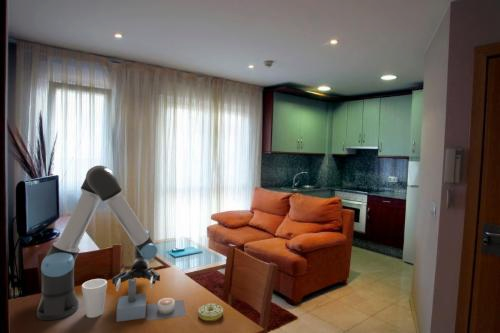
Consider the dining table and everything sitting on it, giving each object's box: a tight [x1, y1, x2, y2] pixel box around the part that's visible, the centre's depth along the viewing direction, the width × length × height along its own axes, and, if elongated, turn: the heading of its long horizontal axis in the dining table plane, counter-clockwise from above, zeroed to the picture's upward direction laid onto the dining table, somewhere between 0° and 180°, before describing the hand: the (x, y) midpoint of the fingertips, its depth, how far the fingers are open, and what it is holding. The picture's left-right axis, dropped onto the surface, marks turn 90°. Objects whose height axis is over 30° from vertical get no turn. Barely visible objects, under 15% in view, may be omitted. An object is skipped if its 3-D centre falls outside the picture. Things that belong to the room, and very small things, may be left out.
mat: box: [146, 299, 187, 322], centre depth 135 cm, size 16×14×1 cm
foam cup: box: [81, 278, 108, 319], centre depth 130 cm, size 10×9×13 cm
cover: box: [116, 278, 147, 323], centre depth 131 cm, size 11×11×15 cm
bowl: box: [157, 297, 176, 314], centre depth 135 cm, size 7×7×4 cm
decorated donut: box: [197, 302, 224, 322], centre depth 131 cm, size 10×11×4 cm
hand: (134, 287), depth 131 cm, fingers open, 13 cm apart
